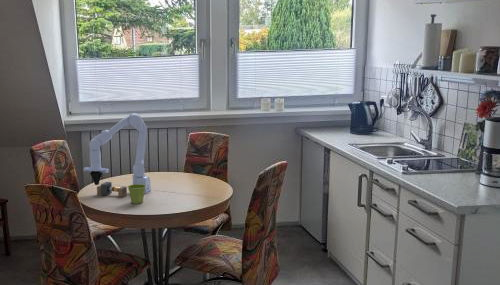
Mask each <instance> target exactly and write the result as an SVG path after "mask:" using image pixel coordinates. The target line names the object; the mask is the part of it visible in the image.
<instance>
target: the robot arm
mask: <svg viewBox="0 0 500 285" xmlns="http://www.w3.org/2000/svg"><path fill="white" fill-rule="evenodd" d="M130 126H132V127H133V128H135V129H136V130H137V132H138V136H137V144H136V145H137V146H136V152H135V153H136V154H135V162H134V164H133V166H132V185H134V184H142V185H146V187H145V190H144V194H147V193H148V192H151V191H152V189H151V186H152V185H151V177H149V176H147V175H146V174H145V172H146V171H145V166H144V165H145V162H144V161H145V155H146V154H145V153H146V144H147V135H148V127H147V125H146V124H145V122H144V120H143V118H142V117H141V115H139V113H136V112H132V113H130V114H129V115H127V116H125V117H124V118H122V119H121V120H119V121H118V122H117V123H116V124H114V125H113V126H112V127H111V128H110V129H104V130H101V132H100V133H99V134H98V135H95V136H94V137H93V138H92V139H91V140H90V141H89V143H88V144H89V145H88V146H89V161H90V167H88V166H85V167H83V172H90V173H89V175H90V176H91V178H92V181H93V183H94V185H95V186H99V185H100V180H101V177H102V175H103V173H105V174H108V173H109V172H110V171H109V170H110V169H109V168H105V167H102V153H101V146H103V145H105V144H106V143H107V142H109V141H110V140H112V138H113V135H114V134H116V133H117V132H118V131H120V130H121V129H123V128H124V127H130Z"/></svg>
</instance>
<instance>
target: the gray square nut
mask: <svg viewBox="0 0 500 285" xmlns="http://www.w3.org/2000/svg"><path fill="white" fill-rule="evenodd" d="M112 183H113V182H111V181H106V182H103V183H100V185H101V195H100V196H108V195H109V194H113V193H112V192H113V191H107V186H108V187H113V185H112Z"/></svg>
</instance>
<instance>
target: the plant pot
mask: <svg viewBox="0 0 500 285" xmlns="http://www.w3.org/2000/svg"><path fill="white" fill-rule="evenodd" d="M145 187H146V185H142V184H134V185H133V184H130V185H127V190H128V192H129V197H130V202H131V204H136V205H137V204H143V202H144V198H145V193H144V190H145Z"/></svg>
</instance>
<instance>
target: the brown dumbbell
mask: <svg viewBox="0 0 500 285" xmlns="http://www.w3.org/2000/svg"><path fill="white" fill-rule="evenodd" d="M107 191H112V192H115V193H117V194H118V195H117V196H118V198H123V197H126V196H128V186H121V187H119V186H112V187H108V186H107ZM96 195H97V196H102V195H101V184H99V185H97V186H96Z"/></svg>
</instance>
